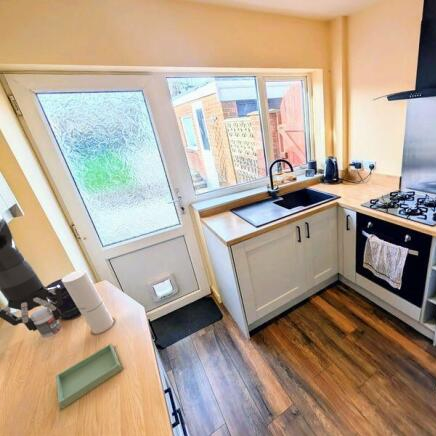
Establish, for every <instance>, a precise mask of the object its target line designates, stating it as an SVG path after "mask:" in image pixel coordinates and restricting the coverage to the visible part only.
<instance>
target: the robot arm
mask: <svg viewBox="0 0 436 436" xmlns="http://www.w3.org/2000/svg"><path fill="white" fill-rule="evenodd" d="M0 292H1V294H2V295H3V297H4V298H5V300H7V304H6V305H5V306H3V307H0V318H1V319H2V320H3V321H6V322H7V323H8V324H10V325H12V326H18V325H19V324H24V325H25V327H26V328H27V330H28V331H30V332H31V331H33V332H36V331H38V330H37V328H36V327H35V325H34V324H33V321H34V320H32V318H31V317H29V312H30V311H32V310H33V309H35V308H37V307H43V308H46V307H47V308H48V309H49V310H50V312H52V313H53V315H54V316H55V318H56V319H57V320H58V321H59V320H60V319H61V312H60V310H59V309H58V307H59V306H60V305H62V304H63V301H62V294H61V288H60V285H56V286H55V287H52V288H47V286H45V285H44V284H43V282H42V281H41V279H40V278H39V276H38V275H37V273H36V271H35V270H34V268H33V267H32V266H31V264H30V263H29V262H28V261H27V260H26V258H25V256H24V255H23V253H22V252H21V250H20V248H19V247H18V246H17V245H16V241H15V239H14V236H13V233H12V232H11V229H10V226H9V224H8V222H7V221H6V219H5V218H4V217H3V215H1V214H0ZM49 292H51V293H52V294H56V298H57V301H56V302H55V303H54V302H52V301H51V300H50V299H48V298H47V295H48V293H49ZM11 309H14V310H19V311H21V316H19V317H18V316H16V315H15V314H14V313H12V312H11V311H12V310H11Z"/></svg>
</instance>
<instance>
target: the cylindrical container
mask: <svg viewBox="0 0 436 436" xmlns="http://www.w3.org/2000/svg"><path fill="white" fill-rule="evenodd" d="M61 279H62V282H63V284H64V286H65V287H66V289H67V291H68V292H69V294H70V296H71V297H72V299H73V301H74V302H75V304H76V306H77V307H78V309H79V311H80V312H81V316H82V317H83V319H84V321H85V322H86V324H87V325H88V327H89V329H90V331H91V332H92V333H93V335H94V334H95V335H98V334H101V333H104V332H106V331H107V330H109V329H110V328H111V327H112V326H113V325H114V320H113V318H112V315H111V314H110V312H109V310H108V308H107V305H105V303H104V301H103V299H102V297H101V295H100V293H99V292H98V290H97V288H96V286H95V283H94V282H93V280H92V279H91V277H90V275H89V273H88V271H87V270H86V269H79V270H74V271H72V272H70V273H67V274H66V275H65V276H63V277H62V278H61Z"/></svg>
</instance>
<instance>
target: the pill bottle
mask: <svg viewBox="0 0 436 436" xmlns="http://www.w3.org/2000/svg"><path fill="white" fill-rule="evenodd" d="M30 318H31V319H32V320H33V324H34V325H35V327H36V328H37V330H36V331H38V332H39V334H40V335H41V337H42V338H43V339H50V338H53V337H55V336H56V335H58V334H60V332H61V331H62V330H63V326H62V324H61V322H60V321H59V320H57V319H56V318H55V316H54V315H53V313H52V312H51V310H50V309H49V308H47V307H41V308H39V309H36V310H35V311H34V312H32V313H31V315H30Z"/></svg>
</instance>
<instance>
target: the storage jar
mask: <svg viewBox="0 0 436 436" xmlns="http://www.w3.org/2000/svg"><path fill="white" fill-rule="evenodd" d="M62 279H63V278H60V279H57V280H55V281H53V282H51V283H49V284H47V285H46V287H47V288H52V287H55V286H56V285H60V288H61V294H62V301H63V304H62V305H60V306H59V307H58V309H59V310H60V312H61V317H60V319H61V320H62V321H69V320H73V319H75V318H78V317H79V316H82V314H81V312H80V311H79V309H78V307H77V306H76V304H75V302H74V301H73V299H72V297H71V296H70V294H69V292H68V291H67V289H66V287H65V286H64V284H63V282H62ZM47 298H48V299H50V300H51V301H52V302H54V303H55V302H56V301H57V298H56V294H52V293H51V292H49V293H48V295H47Z"/></svg>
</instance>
